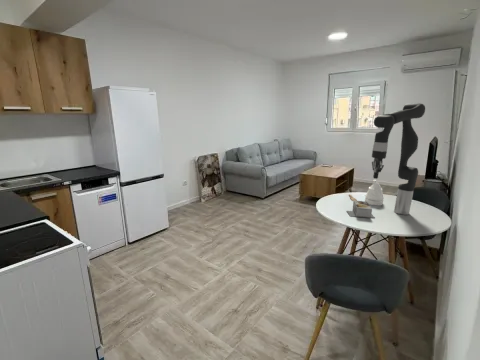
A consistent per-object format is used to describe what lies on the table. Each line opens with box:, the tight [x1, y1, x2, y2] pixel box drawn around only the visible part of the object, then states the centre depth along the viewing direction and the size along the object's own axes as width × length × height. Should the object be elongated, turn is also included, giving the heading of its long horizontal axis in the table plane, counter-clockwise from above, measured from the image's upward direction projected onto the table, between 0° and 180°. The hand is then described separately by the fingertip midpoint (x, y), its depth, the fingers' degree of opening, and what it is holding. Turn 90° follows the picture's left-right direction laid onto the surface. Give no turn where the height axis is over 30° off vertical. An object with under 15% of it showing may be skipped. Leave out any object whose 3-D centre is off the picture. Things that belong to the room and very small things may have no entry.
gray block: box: [346, 210, 376, 219], centre depth 179 cm, size 10×16×1 cm, turn 82°
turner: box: [348, 194, 358, 202], centre depth 216 cm, size 15×4×1 cm, turn 172°
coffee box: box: [352, 200, 373, 219], centre depth 180 cm, size 9×6×16 cm
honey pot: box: [364, 179, 385, 206], centre depth 204 cm, size 13×13×18 cm
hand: (375, 178), depth 159 cm, fingers closed
